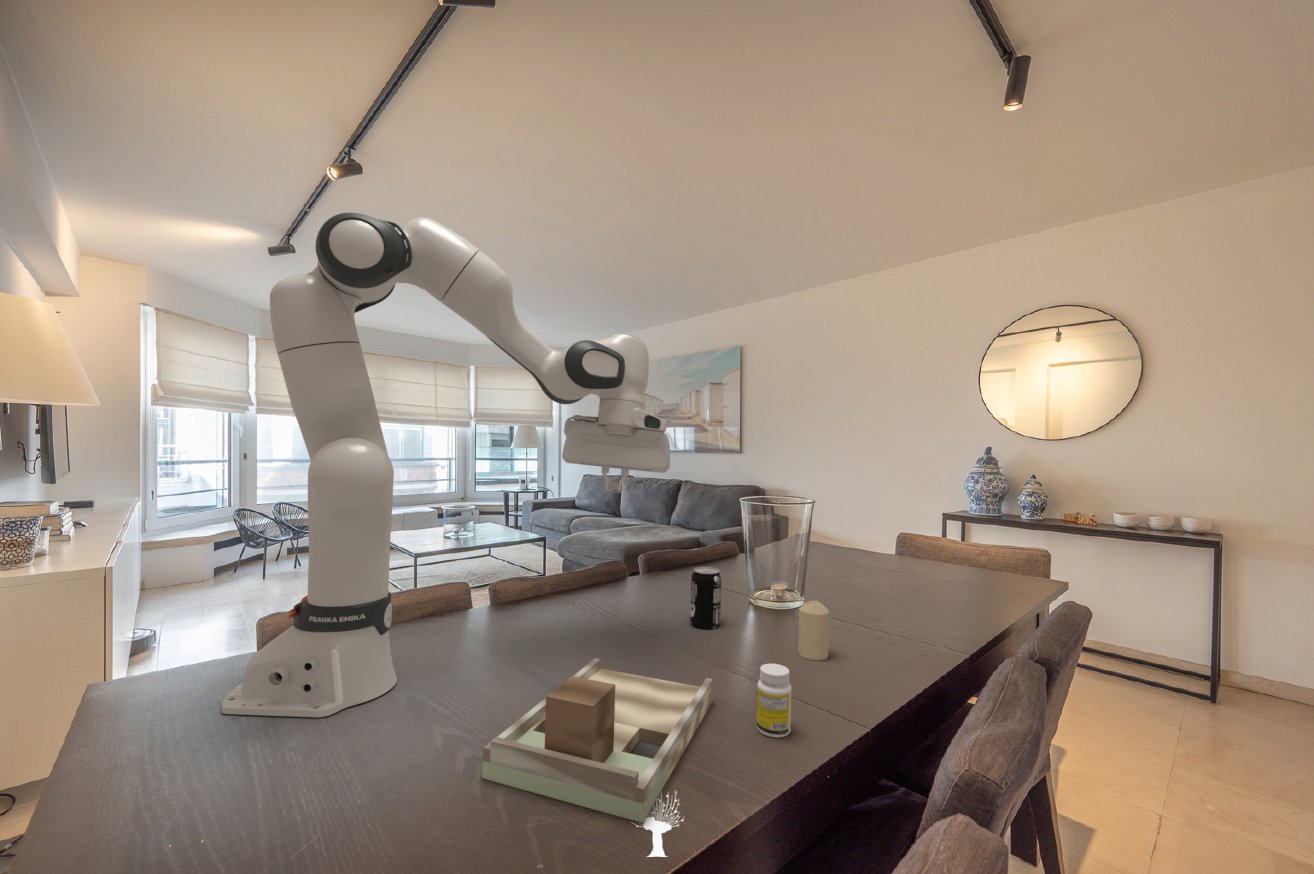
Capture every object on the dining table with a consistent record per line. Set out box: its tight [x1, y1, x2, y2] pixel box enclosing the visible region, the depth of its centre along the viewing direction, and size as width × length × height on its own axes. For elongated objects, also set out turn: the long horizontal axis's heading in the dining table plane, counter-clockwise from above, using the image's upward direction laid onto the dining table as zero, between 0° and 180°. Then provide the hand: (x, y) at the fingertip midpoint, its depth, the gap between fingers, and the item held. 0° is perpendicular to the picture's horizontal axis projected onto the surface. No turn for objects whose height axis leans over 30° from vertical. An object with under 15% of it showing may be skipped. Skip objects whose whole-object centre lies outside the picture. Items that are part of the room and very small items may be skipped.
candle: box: [797, 600, 830, 662], centre depth 105 cm, size 6×6×10 cm
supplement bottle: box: [756, 663, 793, 739], centre depth 77 cm, size 5×5×8 cm
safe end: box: [481, 730, 669, 823], centre depth 64 cm, size 8×20×2 cm, turn 70°
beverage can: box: [689, 566, 723, 630], centre depth 121 cm, size 7×7×12 cm
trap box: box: [482, 658, 714, 804], centre depth 74 cm, size 29×20×4 cm
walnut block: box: [545, 675, 615, 763], centre depth 65 cm, size 6×6×8 cm
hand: (612, 492), depth 103 cm, fingers closed
